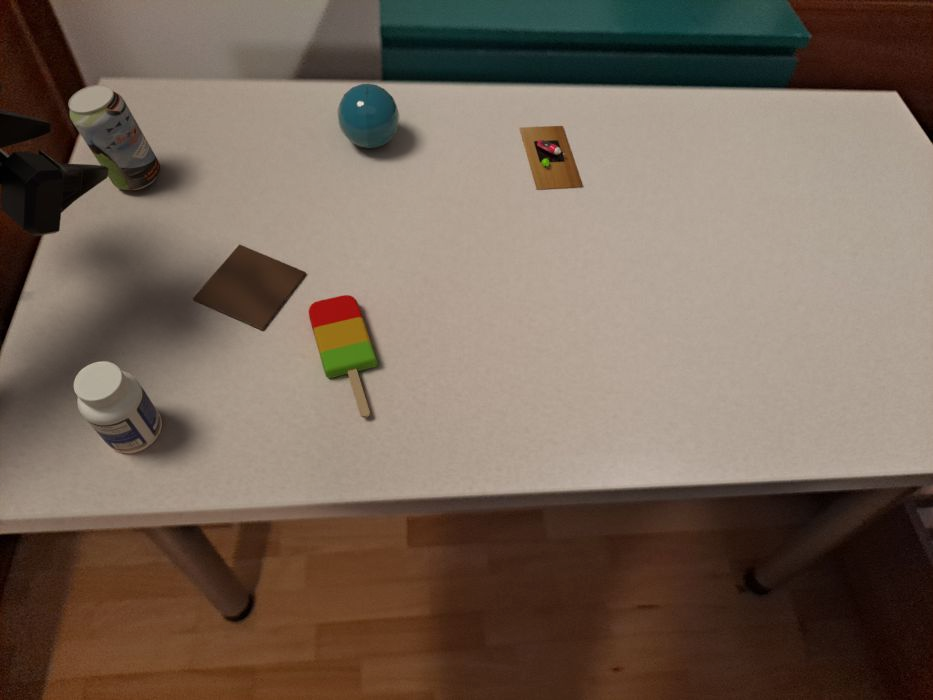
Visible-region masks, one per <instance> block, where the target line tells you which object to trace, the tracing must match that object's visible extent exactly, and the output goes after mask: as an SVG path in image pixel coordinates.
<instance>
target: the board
mask: <svg viewBox="0 0 933 700" xmlns="http://www.w3.org/2000/svg"><path fill="white" fill-rule="evenodd" d="M519 132H520V135H521V139H522V143H523V147H524V149H525V153H526V156H527V161H528V164H529V169H530V171H531V174H532V178H533V181H534V185H535V187H536V188H535V189H536V191H539V190H541V191H542V190H558V189H575V188H576V189H577V188H578V189H579V188H583V187H584V184H583V182H582V179H581V175H580V173H579V170H578V167H577V165H576V161H575V157H574V155H573V152H572V150H571V149H572V148H571V146H570V143H569V140H568V138H567V134H566V132H565V128H564V126H563V125H549V126H545V125H544V126H521V127H520V126H519Z"/></svg>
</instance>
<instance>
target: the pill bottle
mask: <svg viewBox="0 0 933 700" xmlns="http://www.w3.org/2000/svg"><path fill="white" fill-rule="evenodd" d="M73 390H74V393H75V394H76V396H77V400H76V402H77V408H78V411H79V413H80V415H81V416H82V417H83V418H84V419H85V420H86V422H87V423H88V424H89V426H90V427H92V429H93V430H94V431H95V432H96V433H97V434H98V436H99V437H100V438H101V439H102V440H103V441H104V443H105V444H106V445H108V446H109V448H111V449H112V450H113V451H115V452H118V453H122V454H133V453H138V452H141V451H143V450H145V449H147V448H148V447H150V446H151V445H153V443H154V442H155V441H156V440H157V439H158V437H159V435H160V434H161V431H162V427H163V420H162V416H161V414H160V413H159V411H158V409H157V407H156V406H155V405H154V403H153V402H152V401H151V398H150V397H149V395H148V394H147V392H146V390H145V389H144V388H143V386H142V385H141V383H140V382H139V380H138V379H137V378H136V377H135V376H134V375H133V374H130V373H129V372H127V371H124V370H121V368H120V367H119V366H118V365H117V364H115V363H113V362H111V361H96V362H93V363H92V362H91V363H89V364H88V365H86V366H84V367H83V368H82V369H80V370H79V372H78V373H77V374H76V376H75V378H74V380H73Z"/></svg>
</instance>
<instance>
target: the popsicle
mask: <svg viewBox="0 0 933 700" xmlns="http://www.w3.org/2000/svg"><path fill="white" fill-rule="evenodd" d="M308 317H309V322H310V326H311V328H312V331H313V336H314V339H315V342H316V343H315V344H316V347H317V350H318V354H319V357H320V361H321V365H322V367H323V372H324V375H325V377H326V378H327V379H333V378H335V377H340V376H343V375H348V378H349V381H350V385H351V388H352V392H353V395H354V398H355V402H356V406H357V409H358V412H359V414H360V417H361V418H368V417H369V416H370V414H371V411H370V408H369V405H368V401H367V399H366V395H365V392H364V388H363V385H362V381H361V379H360V376H359V372H360V371H363V370H367V369H371V368H376V367H378V361H377V358H376V357H377V356H376V355H375V351H374V348H373V345H372V342H371V338H370V336H369V332H368V330H367V328H366V327H367V326H366V323H365V321H364V318H363V315H362V311H361V308H360V306H359V303H358V301H357V299H356V298H355V297H354V296H352V295H350V294H345V295H344V294H343V295H338V296H333V297H330V298H327V299H321V300H317V301H315V302H313V303H311V304H310V306H309V308H308Z"/></svg>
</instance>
